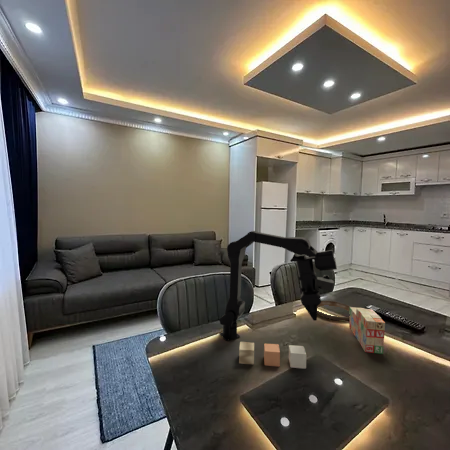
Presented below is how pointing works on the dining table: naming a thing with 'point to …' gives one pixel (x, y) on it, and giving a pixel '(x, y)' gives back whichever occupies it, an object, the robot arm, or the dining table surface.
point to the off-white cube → (297, 356)
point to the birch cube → (246, 353)
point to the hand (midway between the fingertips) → (314, 315)
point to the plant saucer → (336, 304)
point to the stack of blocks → (367, 329)
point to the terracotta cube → (271, 355)
